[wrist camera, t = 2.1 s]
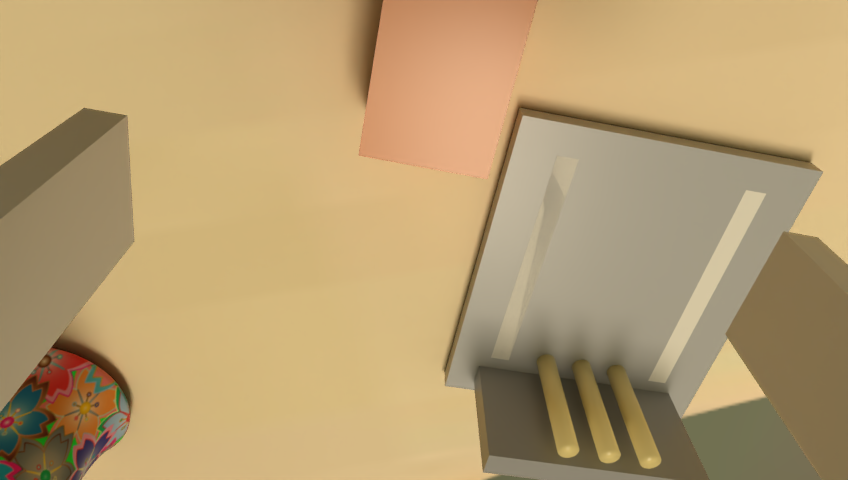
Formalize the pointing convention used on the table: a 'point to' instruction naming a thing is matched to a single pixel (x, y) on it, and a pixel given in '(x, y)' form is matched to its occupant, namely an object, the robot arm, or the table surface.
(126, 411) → the mug
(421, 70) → the orange block
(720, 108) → the table surface
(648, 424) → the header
